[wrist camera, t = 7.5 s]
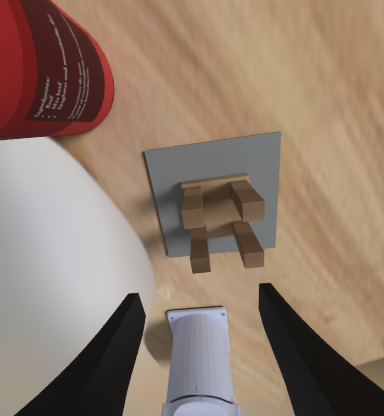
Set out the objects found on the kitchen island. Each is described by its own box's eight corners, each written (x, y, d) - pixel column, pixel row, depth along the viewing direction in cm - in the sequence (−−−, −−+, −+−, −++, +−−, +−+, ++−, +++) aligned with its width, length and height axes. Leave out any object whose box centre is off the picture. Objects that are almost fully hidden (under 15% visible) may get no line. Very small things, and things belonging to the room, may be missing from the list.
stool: (247, 227, 20) (267, 269, 14) (191, 234, 20) (189, 276, 15) (245, 172, 17) (269, 195, 12) (182, 181, 18) (175, 207, 12)
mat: (273, 245, 21) (274, 247, 21) (169, 255, 22) (169, 257, 22) (279, 131, 16) (281, 131, 16) (145, 150, 17) (144, 151, 17)
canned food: (-3, 62, 15) (-432, -72, 5) (71, -8, 13) (-354, -457, 3) (67, 150, 17) (-111, 186, 7) (136, 102, 16) (29, 62, 6)
